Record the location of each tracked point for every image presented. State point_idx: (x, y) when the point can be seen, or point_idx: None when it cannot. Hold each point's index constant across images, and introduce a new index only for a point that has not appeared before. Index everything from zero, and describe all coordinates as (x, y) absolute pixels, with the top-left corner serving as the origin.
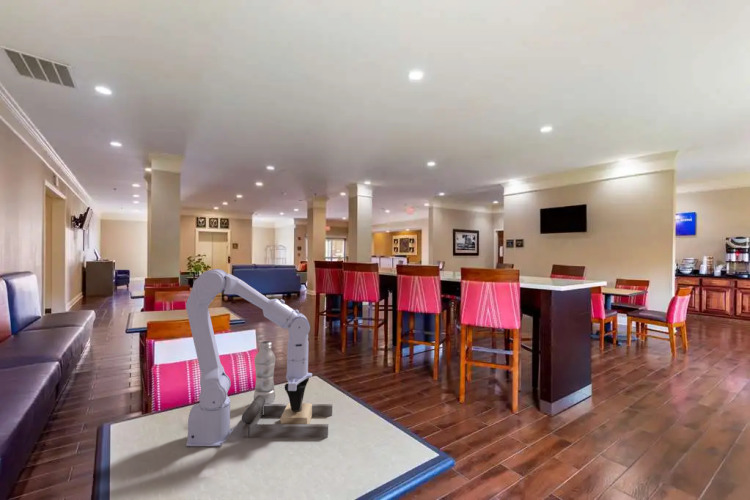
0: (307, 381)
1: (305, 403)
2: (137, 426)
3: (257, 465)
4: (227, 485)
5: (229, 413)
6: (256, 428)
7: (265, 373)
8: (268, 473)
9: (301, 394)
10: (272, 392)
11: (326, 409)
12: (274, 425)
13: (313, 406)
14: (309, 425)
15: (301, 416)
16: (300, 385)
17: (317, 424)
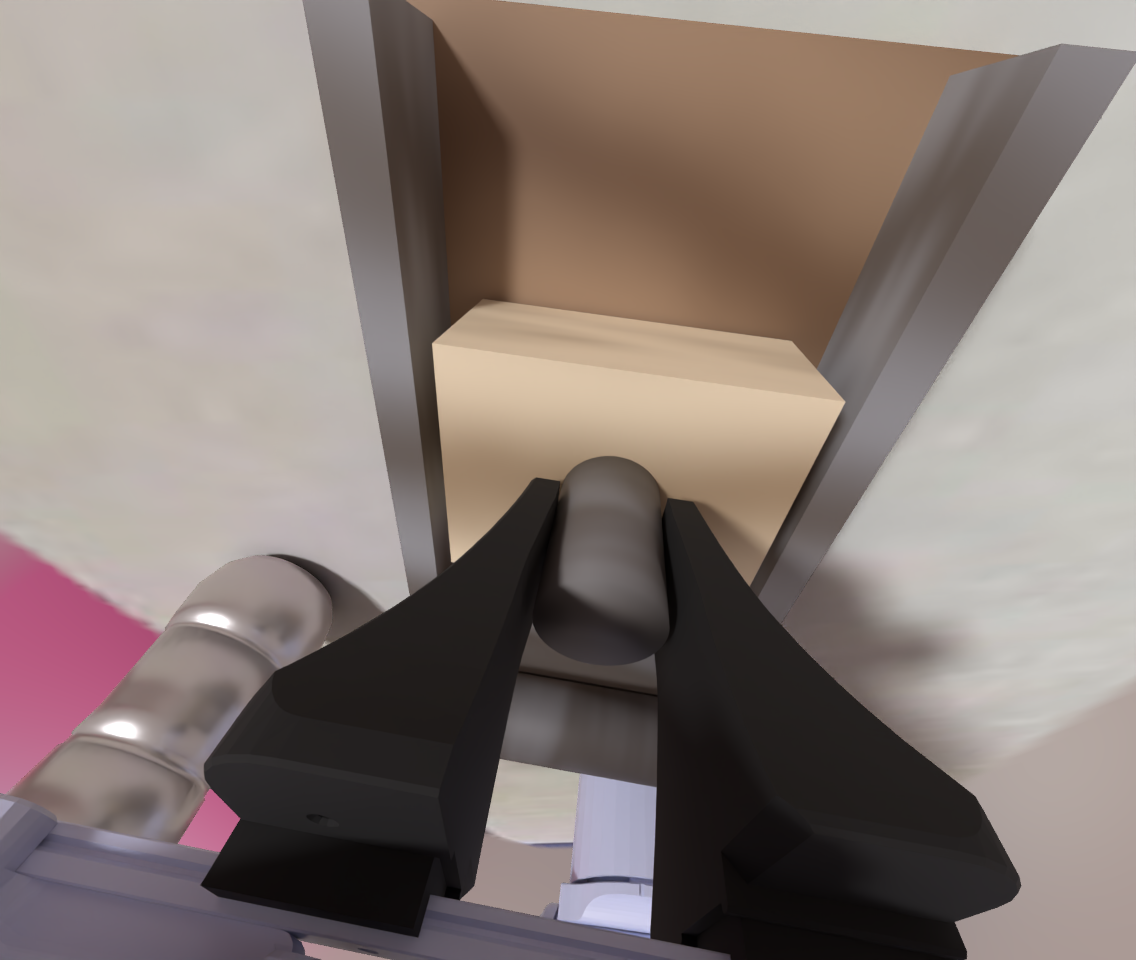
0: (455, 742)
1: (442, 419)
2: (523, 820)
3: (988, 588)
4: (1082, 670)
5: (652, 809)
6: None
7: (157, 822)
8: (1129, 544)
9: (835, 687)
10: (237, 621)
11: (401, 106)
12: (771, 609)
13: (409, 307)
14: (925, 352)
15: (782, 460)
16: (804, 887)
17: (957, 247)
